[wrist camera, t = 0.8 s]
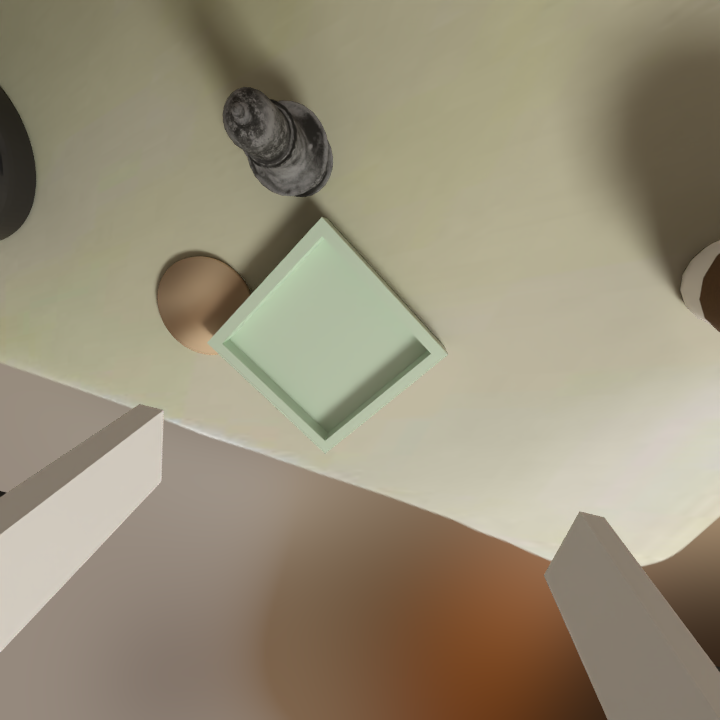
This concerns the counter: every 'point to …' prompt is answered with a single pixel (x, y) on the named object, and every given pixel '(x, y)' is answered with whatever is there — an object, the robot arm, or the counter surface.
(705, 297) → the coffee cup
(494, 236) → the counter surface
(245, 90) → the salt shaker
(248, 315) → the tray
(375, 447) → the counter surface
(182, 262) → the cork coaster
